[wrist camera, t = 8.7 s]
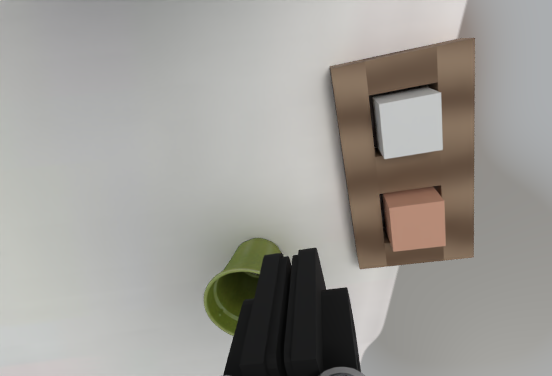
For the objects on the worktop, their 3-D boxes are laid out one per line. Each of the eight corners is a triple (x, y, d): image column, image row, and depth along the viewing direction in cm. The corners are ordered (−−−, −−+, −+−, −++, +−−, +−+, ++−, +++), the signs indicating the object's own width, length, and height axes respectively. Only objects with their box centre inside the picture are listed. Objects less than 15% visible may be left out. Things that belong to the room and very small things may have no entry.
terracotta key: (381, 191, 36) (389, 208, 33) (431, 184, 35) (444, 200, 32) (386, 231, 38) (393, 251, 34) (433, 225, 37) (445, 245, 34)
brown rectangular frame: (329, 66, 33) (330, 68, 31) (460, 38, 31) (474, 37, 28) (356, 254, 41) (359, 269, 39) (462, 242, 39) (473, 257, 36)
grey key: (372, 97, 33) (379, 104, 29) (426, 86, 32) (441, 92, 28) (377, 146, 34) (384, 159, 31) (429, 138, 34) (442, 149, 30)
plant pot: (307, 239, 41) (304, 286, 33) (283, 296, 45) (276, 350, 37) (234, 215, 41) (214, 257, 33) (216, 274, 45) (195, 324, 37)
